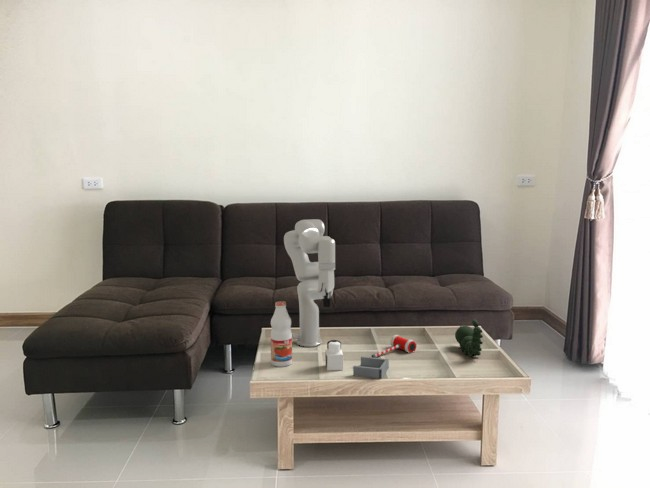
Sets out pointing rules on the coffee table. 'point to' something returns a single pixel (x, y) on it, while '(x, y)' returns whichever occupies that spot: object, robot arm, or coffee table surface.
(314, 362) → the coffee table surface
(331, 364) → the medicine bottle
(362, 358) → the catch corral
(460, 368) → the coffee table surface
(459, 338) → the toy figurine
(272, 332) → the fruit juice
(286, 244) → the robot arm
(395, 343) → the toy hammer
